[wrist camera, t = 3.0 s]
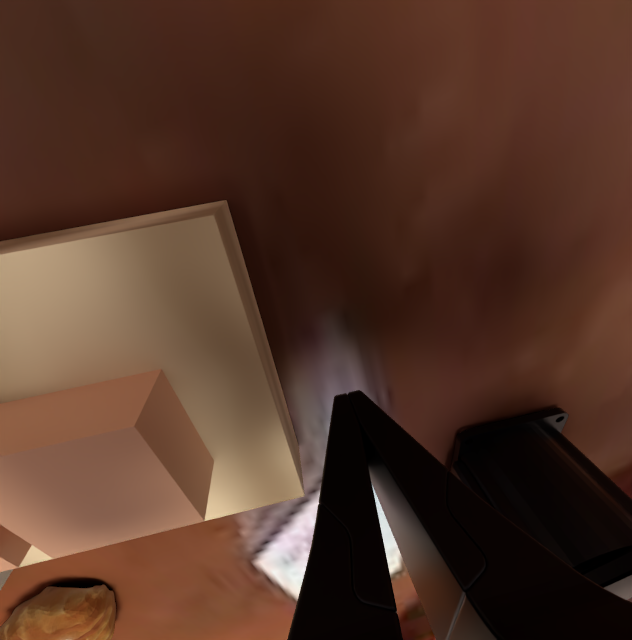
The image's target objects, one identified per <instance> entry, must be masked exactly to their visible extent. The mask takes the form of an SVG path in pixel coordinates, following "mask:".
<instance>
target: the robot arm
mask: <svg viewBox="0 0 632 640" xmlns="http://www.w3.org/2000/svg"><path fill="white" fill-rule="evenodd" d="M567 418H568V414H567V413H566V412H565V411H564V410H563V409H561V408H554V409H550V410H546V411H542V412H538V413H534V414H530V415H526V416H521V417H517V418H513V419H509V420H505V421H501V422H497V423H493V424H489V425H485V426H480V427H476V428H472V429H468V430H465V431H462V432H461V433H459V434H458V435H457V437H456V443H455V449H454V454H453V460H452V466H451V472H450V471H448V469H447V468H446V467H445V466H444V465H443V464H442V463H440V462H439V461H438V460H437V459H436V458H435V457H434V456H433V455H432V454H430V453H429V452H428V451H427V450H426V449H425V448H424V447H423V446H422V445H420V444H419V443H418V442H417V441H416V440H415V439H414V438H413V437H412V436H411V435H409V434H408V433H407V432H406V431H405V430H404V429H403V428H402V427H401V426H399V425H398V424H397V423H396V422H395V421H394V420H393V419H392V418H391V417H389V416H388V415H387V414H386V413H385V412H384V411H383V410H382V409H381V408H379V407H378V406H377V405H376V404H375V403H374V402H373V401H372V400H371V399H369V398H368V397H367V396H366V395H365V394H364V393H363V392H362V391H360V390H358V391H353V392H349V393H348V395H347V394H346V393H344V394H340V395H336V396H335V397H334V402H333V408H332V415H331V422H330V429H329V436H328V443H327V449H326V456H325V463H324V470H323V477H322V484H321V491H320V497H319V505H318V510H317V517H316V523H315V528H314V534H313V540H312V545H311V549H310V554H309V558H308V562H307V567H306V571H305V575H304V579H303V582H302V586H301V590H300V594H299V598H298V601H297V605H296V609H295V613H294V617H293V620H292V624H291V628H290V632H289V636H288V639H287V640H403V638H402V633H401V628H400V623H399V618H398V615H397V608H396V603H395V598H394V593H393V588H392V583H391V578H390V573H389V568H388V563H387V558H386V553H385V548H384V543H383V538H382V533H381V528H380V523H379V518H378V513H377V508H376V503H375V498H374V493H373V488H372V485H373V487H374V489H375V492H376V494H377V497H378V499H379V502H380V504H381V506H382V509H383V511H384V514H385V516H386V519H387V521H388V523H389V526H390V528H391V531H392V533H393V536H394V538H395V541H396V543H397V545H398V548H399V550H400V553H401V555H402V558H403V560H404V562H405V565H406V567H407V570H408V572H409V575H410V577H411V579H412V582H413V584H414V587H415V589H416V592H417V594H418V596H419V599H420V601H421V604H422V606H423V609H424V611H425V614H426V616H427V618H428V621H429V623H430V626H431V628H432V631H433V633H434V635H435V638H436V640H632V602H630V601H627V599H629V598H632V499H631V498H630V497H629V496H628V495H627V494H626V493H624V492H623V491H622V490H621V489H620V488H619V487H618V486H617V485H616V484H615V483H614V482H613V481H612V480H611V479H609V478H608V477H607V476H606V475H605V474H604V473H603V472H602V471H601V470H600V469H599V468H598V467H597V466H596V465H594V464H593V463H592V462H591V461H590V460H589V459H588V458H587V457H586V456H585V455H584V454H583V453H582V452H581V451H580V450H578V449H577V448H576V447H575V446H574V445H573V444H572V443H571V442H570V441H569V440H568V439H567V438H566V437H565V436H563V435H562V434H561V431H562V429H563V427H564V425H565V423H566V421H567ZM371 482H372V483H371Z"/></svg>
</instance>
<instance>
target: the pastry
mask: <svg viewBox="0 0 632 640" xmlns="http://www.w3.org/2000/svg"><path fill="white" fill-rule="evenodd" d="M115 618H116V603H115V599H114V593H113V590H112V591H110V590H108V588H107V587H106V586H105V585H101V586H94V587H92V588H62V587H46V588H45V589H44V590H43V591H42V592H41V593H40V594H39V595H36V596H34V597H33V598H31V599H30V600H27V601H25V602H23V603H21V604H20V605H19V606H18V607H16V608H15V610H14V611H13V613H12V615H11V616H10V617H9V618H8V620H7V621H6V622H5V623H4V624H3V625H2V626H1V627H0V640H111V638H112V636H113V633H114V629H115Z"/></svg>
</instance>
